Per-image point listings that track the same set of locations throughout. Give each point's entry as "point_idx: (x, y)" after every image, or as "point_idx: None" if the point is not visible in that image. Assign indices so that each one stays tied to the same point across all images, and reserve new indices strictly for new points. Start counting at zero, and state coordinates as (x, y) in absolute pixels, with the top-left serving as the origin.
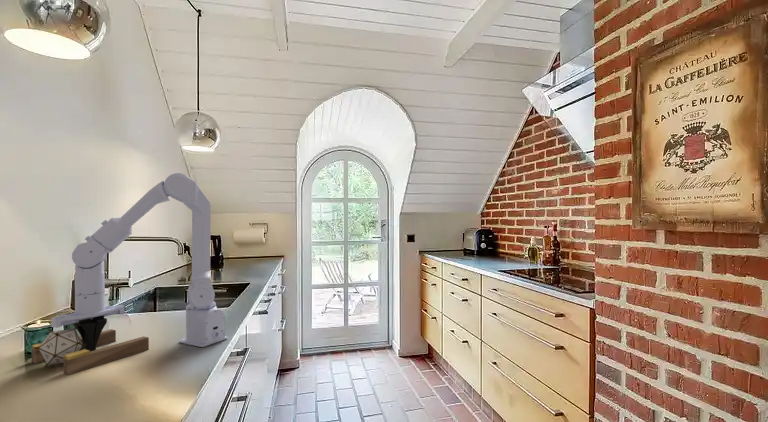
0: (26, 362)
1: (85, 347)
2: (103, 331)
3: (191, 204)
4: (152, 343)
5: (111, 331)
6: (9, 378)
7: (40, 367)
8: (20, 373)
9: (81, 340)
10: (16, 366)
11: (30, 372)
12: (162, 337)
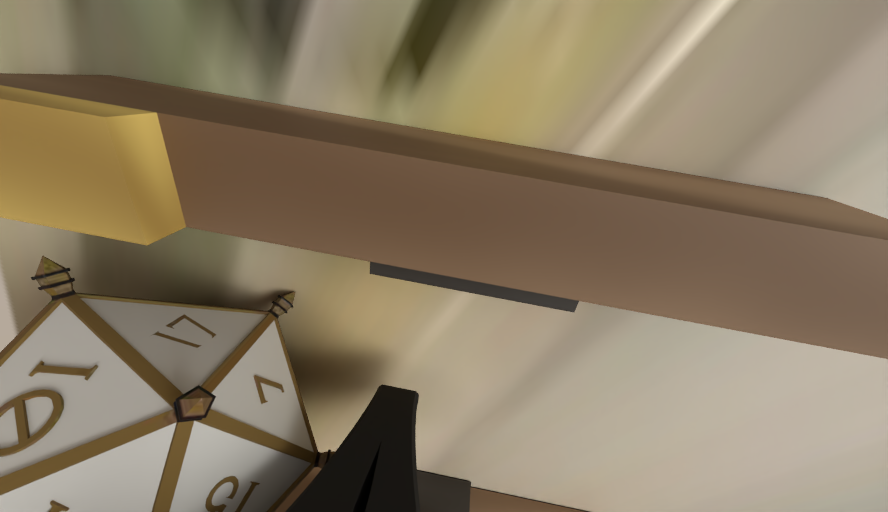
0: (74, 26)
1: (371, 403)
2: (848, 255)
3: None
4: (694, 506)
5: (839, 345)
6: (14, 276)
7: (154, 270)
8: (57, 257)
9: (440, 284)
10: (10, 62)
11: (104, 294)
12: (851, 496)
